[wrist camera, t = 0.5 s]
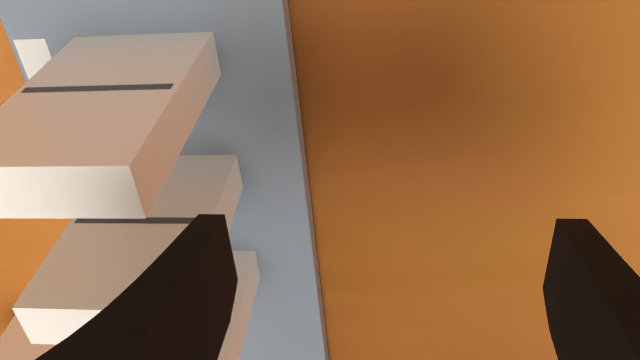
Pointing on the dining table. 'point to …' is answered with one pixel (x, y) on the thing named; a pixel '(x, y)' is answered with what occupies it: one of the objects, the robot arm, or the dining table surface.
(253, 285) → the domino
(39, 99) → the end domino
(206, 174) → the domino
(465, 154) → the dining table surface
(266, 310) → the domino board
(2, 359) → the placed domino
